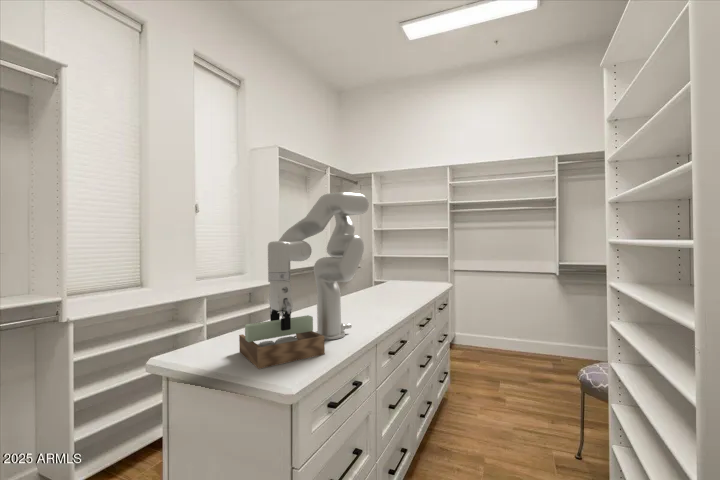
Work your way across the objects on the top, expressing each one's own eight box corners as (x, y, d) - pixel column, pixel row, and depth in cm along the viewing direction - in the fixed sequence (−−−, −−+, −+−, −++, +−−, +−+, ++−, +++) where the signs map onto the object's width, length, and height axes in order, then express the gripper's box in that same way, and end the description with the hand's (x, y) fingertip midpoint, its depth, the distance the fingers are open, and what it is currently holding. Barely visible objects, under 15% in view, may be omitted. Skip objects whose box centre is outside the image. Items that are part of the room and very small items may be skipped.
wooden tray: (299, 340, 134) (298, 325, 134) (324, 354, 117) (324, 336, 117) (239, 352, 121) (239, 334, 121) (258, 368, 105) (258, 348, 105)
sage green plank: (248, 342, 112) (248, 326, 112) (245, 339, 115) (244, 324, 115) (313, 330, 125) (312, 316, 125) (308, 329, 128) (308, 315, 128)
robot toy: (253, 363, 112) (300, 356, 115) (251, 349, 112) (298, 342, 115) (256, 352, 124) (298, 345, 127) (255, 339, 124) (297, 333, 127)
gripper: (300, 278, 115) (301, 330, 115) (280, 274, 129) (281, 321, 129) (278, 279, 111) (279, 334, 111) (260, 276, 125) (261, 324, 125)
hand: (280, 327), depth 120 cm, fingers open, 9 cm apart
